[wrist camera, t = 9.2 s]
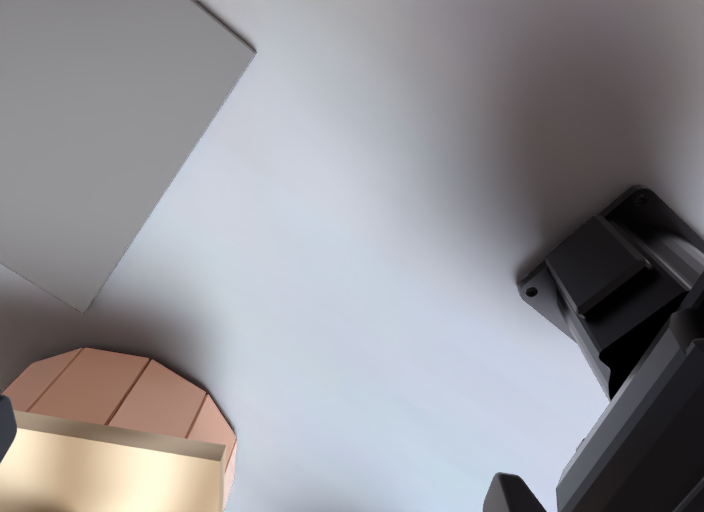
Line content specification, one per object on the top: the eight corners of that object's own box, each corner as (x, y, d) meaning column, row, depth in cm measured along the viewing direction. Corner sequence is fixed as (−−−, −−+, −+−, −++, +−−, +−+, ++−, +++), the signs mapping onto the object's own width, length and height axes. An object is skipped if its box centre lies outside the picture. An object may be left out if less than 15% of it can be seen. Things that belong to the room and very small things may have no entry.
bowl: (281, 429, 27) (257, 524, 22) (171, 533, 32) (131, 628, 27) (72, 301, 24) (-9, 377, 19) (-15, 437, 29) (-96, 525, 24)
